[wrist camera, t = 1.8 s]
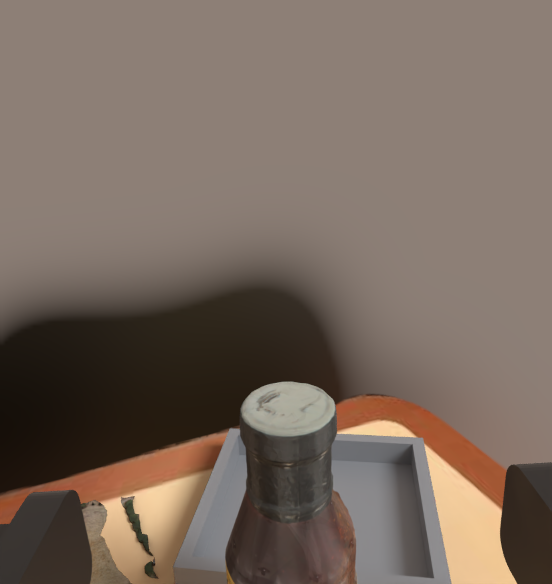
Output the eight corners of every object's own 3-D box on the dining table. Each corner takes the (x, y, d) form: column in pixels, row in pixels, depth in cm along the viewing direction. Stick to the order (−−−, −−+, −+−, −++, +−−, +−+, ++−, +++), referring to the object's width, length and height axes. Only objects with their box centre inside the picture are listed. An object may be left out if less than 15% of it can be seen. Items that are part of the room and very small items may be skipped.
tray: (177, 600, 35) (172, 566, 34) (232, 454, 50) (229, 428, 49) (450, 629, 32) (453, 593, 31) (421, 465, 47) (422, 438, 46)
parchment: (166, 595, 36) (164, 584, 35) (-46, 686, 31) (-50, 674, 30) (132, 489, 46) (130, 480, 46) (-29, 543, 41) (-32, 533, 41)
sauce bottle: (226, 680, 30) (192, 380, 23) (323, 640, 32) (315, 353, 25) (264, 815, 24) (231, 463, 17) (379, 755, 26) (387, 420, 19)
